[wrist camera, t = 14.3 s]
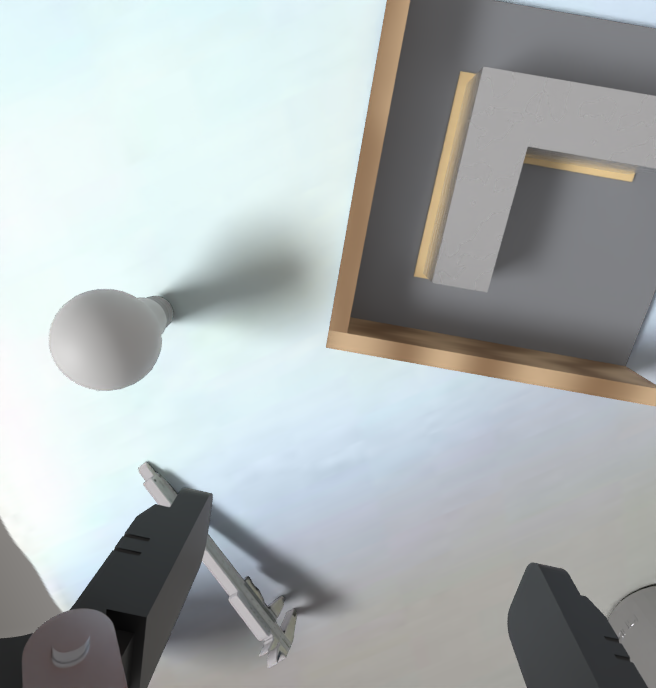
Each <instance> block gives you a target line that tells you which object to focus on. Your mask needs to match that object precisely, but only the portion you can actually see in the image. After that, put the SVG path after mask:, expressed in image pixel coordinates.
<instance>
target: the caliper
mask: <svg viewBox="0 0 656 688" xmlns="http://www.w3.org/2000/svg"><path fill="white" fill-rule="evenodd" d="M138 470H139V473H140V474H141V476H142V477H143V478H144V480H145V481H146V482H144V483H143V485H144V486H145V488H146V489H147V490H148V492H149V493H150V494H151V496H152V497H153V498H154V499H155V501H156V502H157V503H158V505H162V506H166V507H170V506H171V504H172V503H173V501H174V500H175V498H176V496H177V495H178V494H177V493H176V492H175V490H174V489H173V488H172V486H171V485H170V484H169V483H168V482H167V481H166V480H165V479H164V478H163V477H162V476H161V475H160V474H159V473H158V472H157V473H156V472H155V471H154V470H153V468H152V467H151V466H150V464H149V463H148V462H145V463H144V464H142V465H141V466H140V467H138ZM202 561H203V563H204V564H205V565H206V567H207V568H208V569H209V570H210V572H211V573H212V574H213V576H214V577H215V578H216V579H217V581H218V582H219V583H220V585H221V586H222V587H223V588H224V590H225V591H226V592H227V594H228V595H229V596H230V597H229V600H228V601H229V602H230V603H231V605H232V606H233V607H234V609H235V610H236V611H237V613H238V614H239V615H240V617H241V618H242V619H243V621H244V622H245V623H246V625H247V626H248V627H249V628H250V630H251V631H252V632H253V634H254V635H255V636H256V638H257V639H258V640H259V641H262V640H264V647H263V648H262V650H261V652H260V654H259V657H261V656H263V655H265V654H267V653H268V652H269V653H268V660H267V665H268V668H270V667H272V666H274V665H276V664H277V663H278V662H279V661H281V660H283V659H285V658H286V656H287V654H288V652H289V649H290V647H291V645H292V642H293V638H294V631H295V625H296V617H297V613H296V611H295V609H292V610H290V611H289V612H287V613H286V615H285V617H284V620H283V622H282V624H281V626H280V627H279V625H278V624H277V623H276V619H277V618H278V616H279V614H280V612H281V610H282V607H283V605H284V604H283V603H284V601H285V598H284V597H283V596H281V597H279V598H277V599H276V600H274V601H273V602H272V603H271V604H269V605H268V606H267V605H266V604H265V603H264V599H263V597H262V595H261V593H260V591H259V589H258V588H257V587H255V586H254V584H253V583H252V581H251V579H250V577H249V576H247V577H245V578H244V579H243V578H242V577H241V576H240V575H239V573H238V572H237V571H236V569H235V568H234V567H233V566H232V564H231V563H230V562H229V560H228V559H227V558H226V557H225V555H224V554H223V553H222V551H221V550H220V549H219V548H218V546H217V545H216V544H215V542H214V541H213V540H212V539H211V537H210V536H209V535H207V542H206V547H205V551H204V555H203V559H202Z"/></svg>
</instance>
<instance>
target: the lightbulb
mask: <svg viewBox="0 0 656 688" xmlns="http://www.w3.org/2000/svg"><path fill="white" fill-rule="evenodd" d="M172 319H173V309H172V306H171V304H170V303H169V302H168V301H167V300H166V299H164V298H162V297H159V296H151V297H147V298H136V297H134V296H133V295H130V294H128V293H126V292H123V291H118V290H112V289H96V290H91V291H87V292H84V293H82V294H79V295H77V296H75V297H74V298H72V299H71V300H70V301H68V302H67V303H66V304H64V305H63V306H62V308H61V309H60V310H59V311H58V312H57V314H56V315H55V317H54V319H53V321H52V323H51V327H50V331H49V348H50V353H51V355H52V358H53V360H54V362H55V364H56V365H57V367H58V368H59V369H60V371H61V372H62V373H63V374H64V375H65V376H66V377H68V378H69V379H70V380H71V381H73V382H75V383H76V384H78V385H81V386H83V387H86V388H89V389H93V390H98V391H110V390H117V389H122V388H125V387H127V386H130V385H133V384H135V383H136V382H138V381H139V380H141V379H142V378H144V377H145V376H146V375H147V374H148V373H149V372H150V371H151V370H152V368H153V366H154V365H155V363H156V361H157V359H158V357H159V354H160V351H161V344H162V338H161V335H162V334H163V332H164V330H165V328H166V327H167V326H168V325H169V324H170V323H171V321H172Z"/></svg>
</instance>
